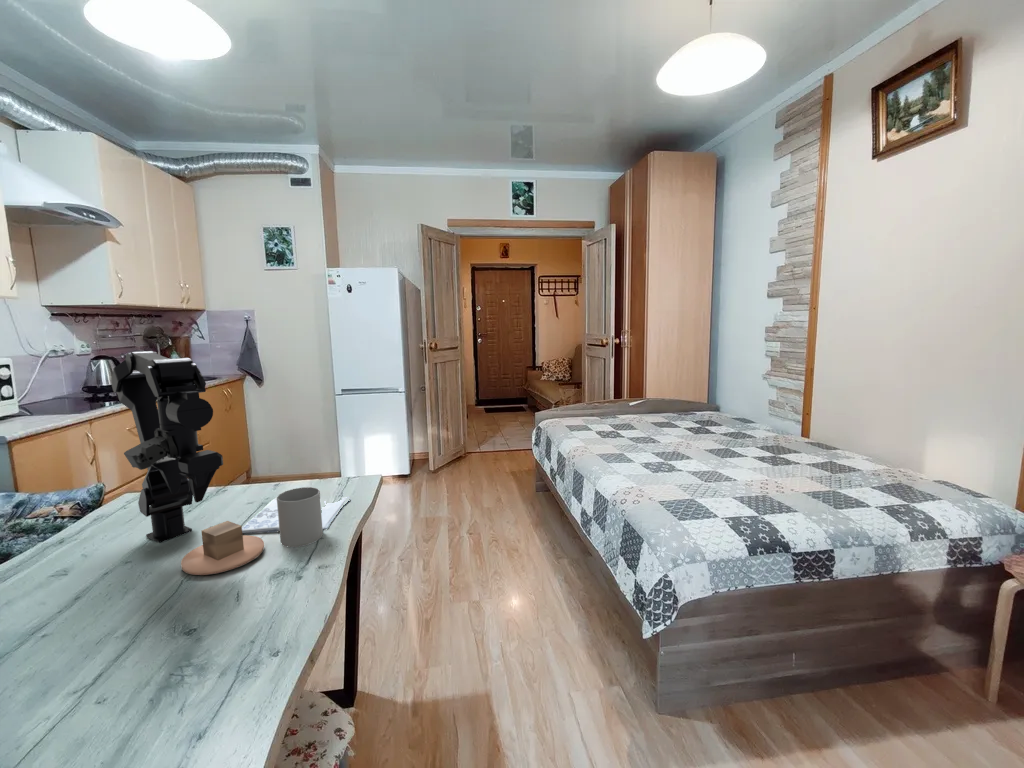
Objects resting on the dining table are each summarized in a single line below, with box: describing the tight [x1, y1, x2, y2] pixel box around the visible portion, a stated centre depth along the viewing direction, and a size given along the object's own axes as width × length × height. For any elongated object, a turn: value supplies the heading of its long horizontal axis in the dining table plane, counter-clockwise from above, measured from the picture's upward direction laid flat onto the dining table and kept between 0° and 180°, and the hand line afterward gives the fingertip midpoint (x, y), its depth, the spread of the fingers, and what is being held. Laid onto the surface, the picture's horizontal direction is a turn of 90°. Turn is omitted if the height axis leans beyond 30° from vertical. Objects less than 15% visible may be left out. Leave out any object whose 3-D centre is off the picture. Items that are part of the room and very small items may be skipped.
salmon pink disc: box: [180, 534, 265, 576], centre depth 90 cm, size 14×14×1 cm
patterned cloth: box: [242, 496, 350, 535], centre depth 110 cm, size 19×20×2 cm
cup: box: [276, 486, 324, 548], centre depth 97 cm, size 8×8×10 cm
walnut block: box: [201, 520, 244, 560], centre depth 89 cm, size 5×5×5 cm
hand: (186, 497), depth 90 cm, fingers open, 9 cm apart
